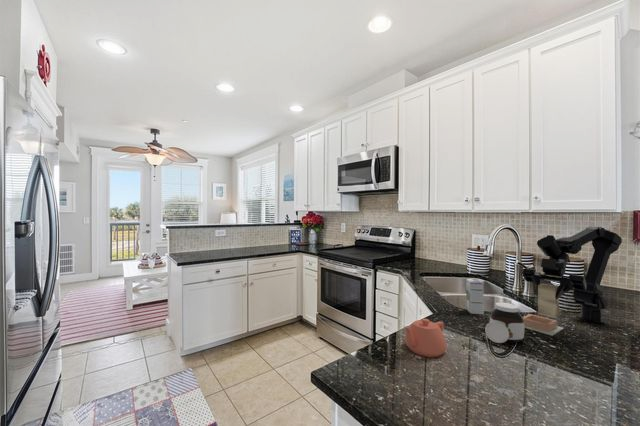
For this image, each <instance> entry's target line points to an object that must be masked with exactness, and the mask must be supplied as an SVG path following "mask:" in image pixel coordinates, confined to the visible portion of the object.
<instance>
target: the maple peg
mask: <svg viewBox="0 0 640 426" xmlns="http://www.w3.org/2000/svg"><path fill="white" fill-rule="evenodd" d="M558 287H559V285H555V284H554V285H553V284H550V283H549V284H547V283H543V284H540V285H538V293H537V314H538V316H539V315H540V316H542V317H547V318H551V319H552V318H553V319H556V318H557V317H559V316H560V297H559V298H558V299H556V298H555V297H556V292H557V290H558Z"/></svg>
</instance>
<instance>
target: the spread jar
mask: <svg viewBox="0 0 640 426" xmlns="http://www.w3.org/2000/svg"><path fill="white" fill-rule="evenodd" d="M494 305H495V308H494V309H493V310H492V311H490V314H489V322H488V323H487V324H486V325H485V328H484V329H485V335H486V337H487V338H488V339H489V340H490V341H492V342H493V343H496V344H497V343H498V344H503V343H505V342H506V343H514V344H515V343H518V342H520V341H522V340H523V339H524V337H525V328H524V320H523V318H522V317H523V316H522V315H521V313H520V312H519V306H518V305H517V304H516V305H515V304H513V303H509V302H495V304H494Z"/></svg>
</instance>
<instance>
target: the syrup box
mask: <svg viewBox="0 0 640 426" xmlns="http://www.w3.org/2000/svg"><path fill="white" fill-rule="evenodd" d="M465 280H466V282H465V289H466V291H465V295H466V296H465V297H466V298H465V299H466V301H465V303H466V304H465V307H466V308H465V309H466V311H467V312H468V313H469V314H471V315H484V313H485V312H484V310H485V309H484V306H485V305H484V281H482V280H481V279H479V278H466V279H465Z"/></svg>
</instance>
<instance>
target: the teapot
mask: <svg viewBox="0 0 640 426" xmlns="http://www.w3.org/2000/svg"><path fill="white" fill-rule="evenodd" d="M444 327H445V324H444V322H443V321H440V320H439V321H437V322H432V321H430V319H428V318H422V319H419V320H415V321H412V323H411V324H410V325H409V326H403V328H404V329H405V339H404V340H405V344H406V346H407V347H408V349H409V350H410V351H411V352H413V353H414V354H416V355H419V356H422V357H425V358H427V357H428V358H437V357H440V356H442V355H443V354H444V353H446V351H447V349H448V348H447V341H446V337H445V335H444V333H443V330H444Z"/></svg>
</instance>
